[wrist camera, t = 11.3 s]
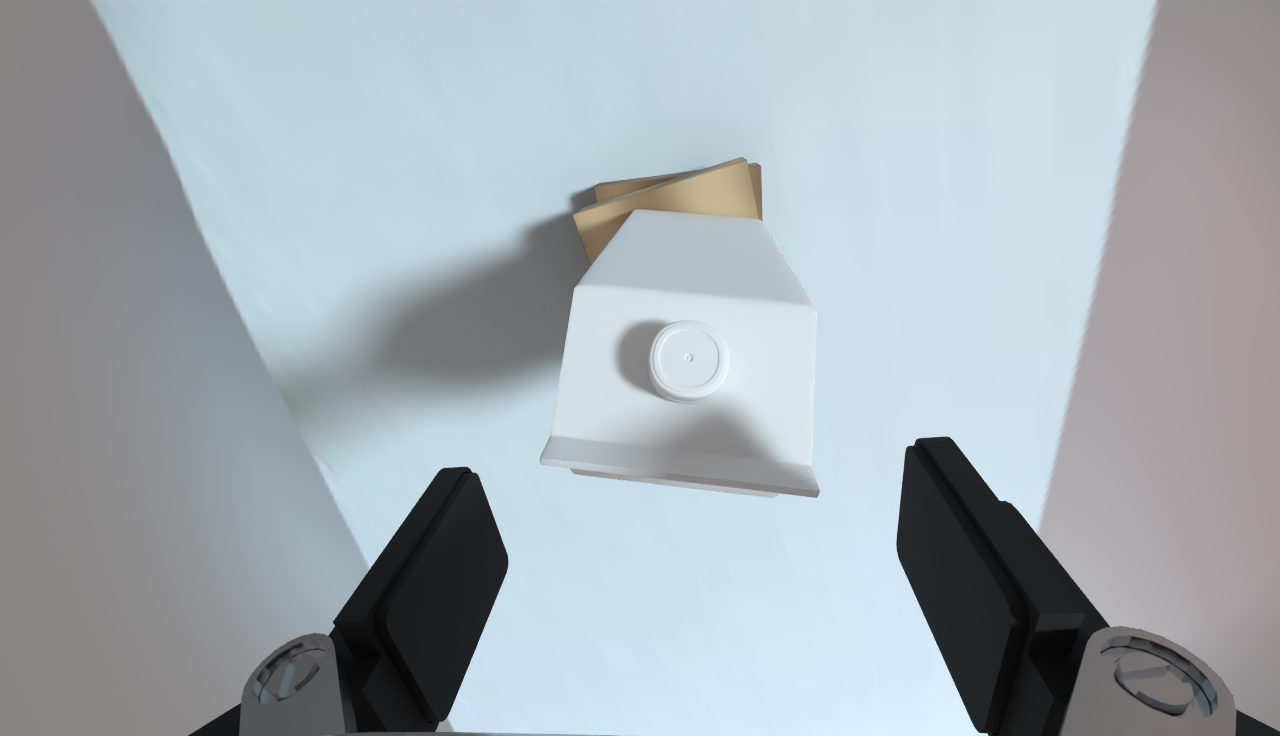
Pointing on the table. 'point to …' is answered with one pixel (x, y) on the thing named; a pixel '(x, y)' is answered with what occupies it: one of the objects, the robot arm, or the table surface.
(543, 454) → the milk carton
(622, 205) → the top slab
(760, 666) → the table surface
